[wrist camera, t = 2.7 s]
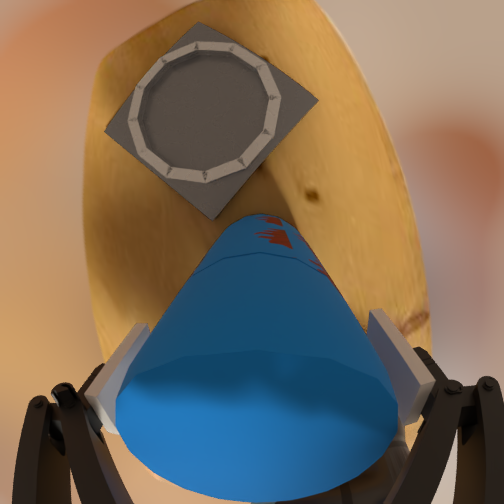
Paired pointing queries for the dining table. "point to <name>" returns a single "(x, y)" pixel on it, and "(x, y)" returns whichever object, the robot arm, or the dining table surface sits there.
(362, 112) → the dining table surface
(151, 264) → the dining table surface
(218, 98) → the collar dock
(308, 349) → the thermos
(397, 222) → the dining table surface
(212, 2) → the dining table surface
